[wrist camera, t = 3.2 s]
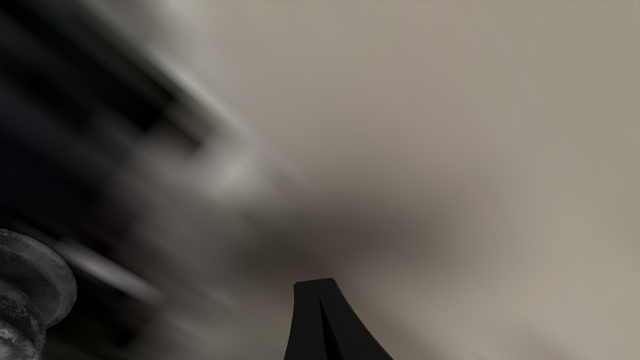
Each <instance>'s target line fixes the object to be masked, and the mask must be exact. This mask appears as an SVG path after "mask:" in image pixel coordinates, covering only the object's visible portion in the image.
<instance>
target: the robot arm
mask: <svg viewBox="0 0 640 360" xmlns="http://www.w3.org/2000/svg"><path fill="white" fill-rule="evenodd" d="M293 286H294V310H293V318H292V324H291V330H290V336H289V340H288V345H287V349H286V353H285V357H284V360H393V359H392V358H391V356H390V355H389V354H388V353H387V352H386V351H385V350H384V349H383V348H382V346H381V345H380V344H379V343H378V342H377V341H376V339H375V338H374V337H373V336H372V335H371V333H370V332H369V331H368V329H367V328H366V327H365V326H364V324H363V323H362V322H361V320H360V319H359V318H358V316H357V315H356V314H355V312H354V311H353V309H352V308H351V306H350V305H349V303H348V302H347V300H346V299H345V297H344V296H343V294H342V292H341V291H340V289H339V287H338V285H337V284H336V282H335V280H334V279H333V278H325V279H318V280H310V281H303V282H296V283H295V284H294V285H293Z"/></svg>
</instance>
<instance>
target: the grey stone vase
mask: <svg viewBox="0 0 640 360" xmlns="http://www.w3.org/2000/svg"><path fill="white" fill-rule="evenodd" d="M76 298H77V283H76V280H75V277H74V274H73V272H72V270H71V269H70V268H69V266H68V265H67V264H66V262H65V261H64V259H62V258H61V257H60V256H59V255H58V254H56V253H55V252H54V251H53V250H52V249H50V248H49V247H48V246H46V245H44V244H42V243H40V242H38V241H36V240H35V239H33V238H31V237H29V236H26V235H22V234H19V233H16V232H13V231H10V230H7V229H0V360H44V359H45V353H46V329H47V328H49V327H51V326H53V325H55V324H57V323H59V322H60V321H61V320H62V319H63V318H64V317H65V316H66V315H68V314H69V312H70V311H71V309H72V307H73V305H74V303H75V301H76Z"/></svg>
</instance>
